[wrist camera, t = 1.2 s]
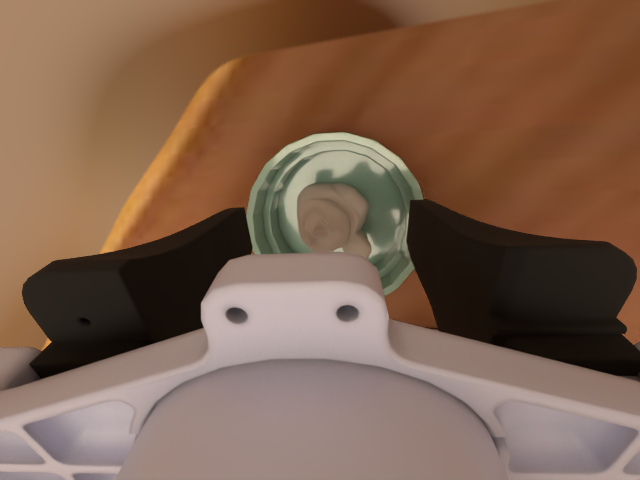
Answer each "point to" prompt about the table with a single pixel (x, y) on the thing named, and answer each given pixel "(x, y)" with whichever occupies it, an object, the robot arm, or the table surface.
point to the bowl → (334, 167)
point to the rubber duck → (333, 218)
